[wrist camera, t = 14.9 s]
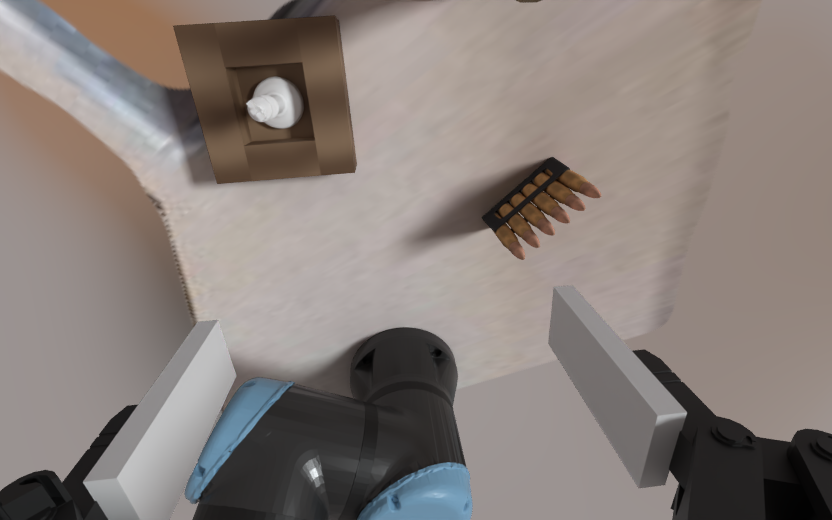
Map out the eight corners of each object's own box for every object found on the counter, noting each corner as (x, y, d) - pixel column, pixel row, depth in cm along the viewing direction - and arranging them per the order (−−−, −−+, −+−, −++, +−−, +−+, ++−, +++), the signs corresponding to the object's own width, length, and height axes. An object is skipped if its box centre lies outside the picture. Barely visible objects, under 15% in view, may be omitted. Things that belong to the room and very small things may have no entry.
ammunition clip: (551, 156, 47) (603, 181, 36) (560, 167, 48) (614, 196, 37) (481, 217, 49) (510, 259, 39) (490, 227, 50) (521, 271, 39)
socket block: (356, 164, 45) (354, 172, 42) (230, 174, 45) (217, 183, 41) (338, 20, 39) (334, 15, 36) (192, 29, 39) (173, 25, 35)
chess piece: (278, 138, 42) (253, 155, 33) (243, 97, 41) (207, 104, 32) (313, 108, 42) (298, 118, 33) (279, 65, 40) (253, 63, 31)
